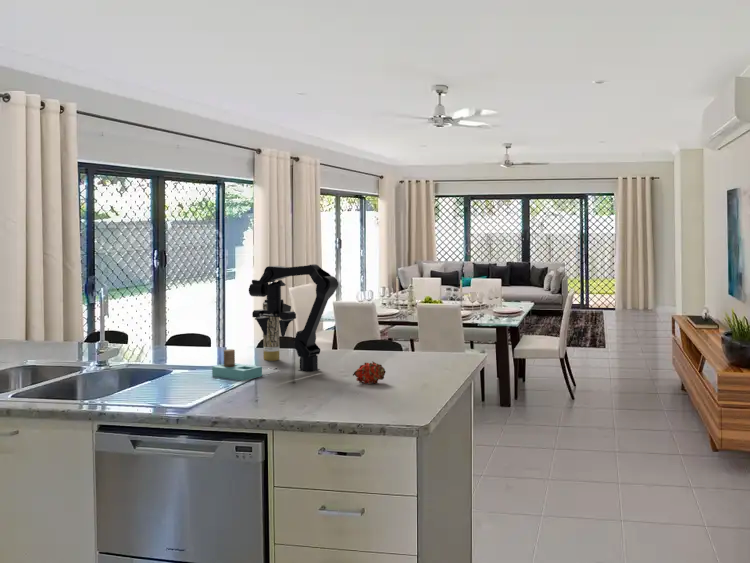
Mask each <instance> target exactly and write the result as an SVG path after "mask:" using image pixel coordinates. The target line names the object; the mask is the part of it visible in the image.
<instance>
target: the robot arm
mask: <svg viewBox="0 0 750 563" xmlns="http://www.w3.org/2000/svg"><path fill="white" fill-rule="evenodd" d="M306 275H309V277H310V278H311V280H312V282H313V283H314V284H315V285H316V287H315V299H314V302H313V304H312V306H311V310H310V312H309V315H308V317H307V319H306V322H305V326H304V327H303V329H302V330H298V331H297V332H296V333H295V337H294V339H293V347H294V349H295V350H296V354H297V356H298V357H299V369H297V371H300V372H307V373H308V372H309V373H312V372H315V371H320V370H321V369H320V368H318V367H319V366H318V365H319V363H318V362H319V358H318V355H320V353H321V348H320V346H318V345H317V343H316V341H317V335H316V333H317V329H318V327H319V324H320V322H321V319H322V317H323V315H324V311H325V308H326V306H327V304H328V301H329V299H331V297H332V296H333V295H334V294H335V292H336V290H337V289H338V287H339V281H338V279H337V278H336V276H334V275H331V274H330V272H328V271H326V270H324V269H323V268H322V267H320V266H319V265H318V264H315V263H314V264H309V265H299V266H285V265H284V266H282V265H271V266H270V265H269V266H265V268H264V270H263V273H262V275H261V277H260V279H252V280H251V283H250V284H249V288H248V294H249V296H251V297H260V298H263V297H266V299H264V302H265V303H267V310H263V308H262V309H255V310H253V311H252V314H251V315H252V318H254V320H256V322H257V323H258V325H259V327H260V328H261V331H262V334H263V333H264V335H267V321H268V319H269V317H266V316H270V317H279V331H280V334H281V337H282V338H284V337H285V336H286V333H287V329H288V326H289V324H290V323H291V322H293V321H294V320H295V319H297V313H296V312H295V311H291V309H292V306H291V305H288V304H286V303H284V298H283V299H282V287H286V283H285V282H284V281H283V279H285V278H288V277H294V276H295V277H297V276H306ZM271 313H272V314H271Z"/></svg>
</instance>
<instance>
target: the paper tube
mask: <svg viewBox="0 0 750 563" xmlns="http://www.w3.org/2000/svg"><path fill="white" fill-rule="evenodd" d="M262 309H263V310H267V303H265V301H262ZM271 314H272V313H271ZM266 317H269V319H268V321H267V335H264V333H263V332H262V337H263V338H262V340H263V341H262V342H263V344H262V345H263V347H262V348H263V360H264V361H268V362H269V361H270V362H275V361H279V360H280V324H279V320H280V318H279V317H270V316H266Z"/></svg>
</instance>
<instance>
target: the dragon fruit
mask: <svg viewBox="0 0 750 563" xmlns="http://www.w3.org/2000/svg"><path fill="white" fill-rule="evenodd" d="M386 373H387V372H386V369H385V367H383V365H382V364H381V363H376V362H374V361H372V362H370V363H369V362H364V363H363V364H361V365H359V367H358V368H357V369H356V370H354V372H353V373H352V377H354V376H355V377H356V381H357V382H359V383H360V384H363V385H364V384H365V385H366V384H368V385H371V384H378V382H379V380H381V381H382V380H384V379H385V377H384V376H385V374H386Z"/></svg>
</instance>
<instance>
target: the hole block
mask: <svg viewBox="0 0 750 563" xmlns="http://www.w3.org/2000/svg"><path fill="white" fill-rule="evenodd" d="M211 368H212V369H211V370H212V371H211V372H212V374H211V375H212V377H216V378H224V379H231V380H237V381H247V380H252V379H255V378H259V377H262V376H263V375H262V368H263V367H262V366H259V365H251V364H241V363H236V362H235V366H234V367H224V363H223V364H219V365H215V366H212V367H211Z"/></svg>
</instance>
